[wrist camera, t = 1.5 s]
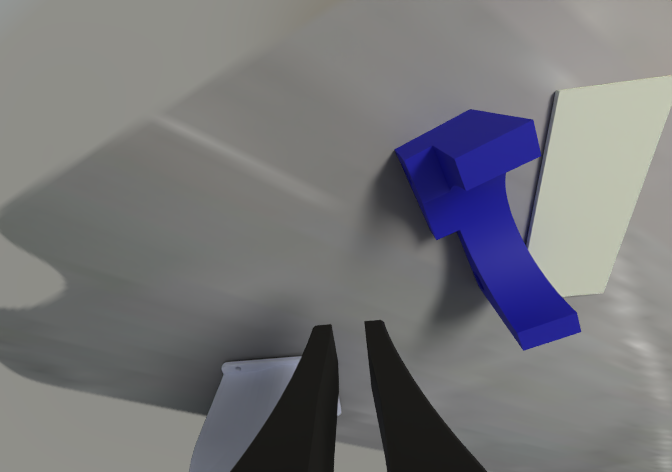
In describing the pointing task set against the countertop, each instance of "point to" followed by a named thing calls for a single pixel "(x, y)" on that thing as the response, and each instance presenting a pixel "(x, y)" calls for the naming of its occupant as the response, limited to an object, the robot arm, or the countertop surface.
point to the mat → (593, 178)
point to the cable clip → (487, 216)
